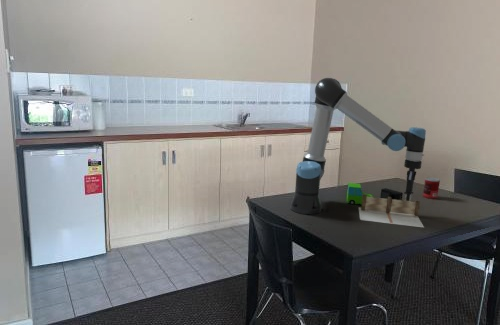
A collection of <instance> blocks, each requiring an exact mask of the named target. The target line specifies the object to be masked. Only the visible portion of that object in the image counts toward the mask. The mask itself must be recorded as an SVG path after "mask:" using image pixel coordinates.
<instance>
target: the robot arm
mask: <svg viewBox="0 0 500 325" xmlns="http://www.w3.org/2000/svg"><path fill="white" fill-rule="evenodd" d="M314 94H315V98H314V99H315V100H314V102H313V103H314V105H315V107H316V109H315V114H314V120H313V122H312V128H311V132H310V133H311V134H310V138H309V143H308V148H307V152H306V153H305V154H304V155H303V158H302V161H301V162H298V163H297V166H296V169H295V170H296V175H295V176H296V177H295V187H294V188H295V189H294V190H295V191H294V195H293V197H292V200H291V202H290V207H289V208H290V210H291V211H293V212H294V213H297V214H301V215H316V214H319V213H321V211H322V204H321V199H320V196H319V194H320V183H321V179H322V178H323V177H324V173H325V166H326V161H327V159H326V157H325V153H326V152H325V151H326V147H327V143H328V139H329V138H328V137H329V134H330V129H331V125H332V119H333V115H334V111H335V110H338V111H340V112H341V113H342V114H343V115H345V116H346V117H348V118H349V119H351V120H352V121H353V122H355V123H356V124H357V125H358V126H360V127H361V128H363V129H364V130H366V132H368V133H370V134H371V135H372V136H373V137H375V138H376V139H378V140H379V141H380V143H381V145H383V146H387V148H389V149H390V150H391V151H393V152H399V151H401V150H403V149H404V148H406V150H405V160H404V163H403V164H404V165H403V166H404V168H406V169H408V170H407V172H406V186H405V192H403V194H405V195H404V196H405V197H404V201H412V195H413V194H414V192H413V188H414V183H415V182H414V181H415V179H416V175H417V170H420V169H421V168H422V164H423V163H422V162H423V161H422V160H423V157H424V156H425V154H424V149H425V148H424V147H425V141H426V133H427V130H426V129H425V128H424V127H417V126H416V127H413V126H412V127H409V130H406V131H405V130H396V129H394V128H392V127H391V126H390V125H388V124H387V123H386V122H385V121H383V120H381V119H380V118H379V117H377V115H375V114H374V113H372V112H371V111H369V110H368V109H367V108H365V107H364V106H363V105H361V104H360V103H358V102H357V101H355V99H353V98H352V97H351V96H349V95H348V92H347V91H346V90H345V89H343V88H342V84H341V83H340V81H339V80H337V79H336V78H332V77H325V78H322V79H320V80H318V82H317V83H316V85H315V88H314Z"/></svg>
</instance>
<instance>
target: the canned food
mask: <svg viewBox="0 0 500 325" xmlns="http://www.w3.org/2000/svg"><path fill="white" fill-rule="evenodd" d="M440 181H441V180H440V179H439V178H437V177H430V176H428V177H425V179H424V185H423V191H422V192H423V193H422V196H423V198H426V199H430V200H436V199H438V195H439V190H440V183H441V182H440Z"/></svg>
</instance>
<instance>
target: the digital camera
mask: <svg viewBox="0 0 500 325" xmlns="http://www.w3.org/2000/svg"><path fill="white" fill-rule="evenodd" d="M380 190H381V192H380V197H379V198H384V199H388V197H392V199H393V200H403V194H404V192H401V191H398V190H394V189H391V188H390V189H389V188H386V187H385V188H381V189H380ZM391 203H392V200H391Z"/></svg>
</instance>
